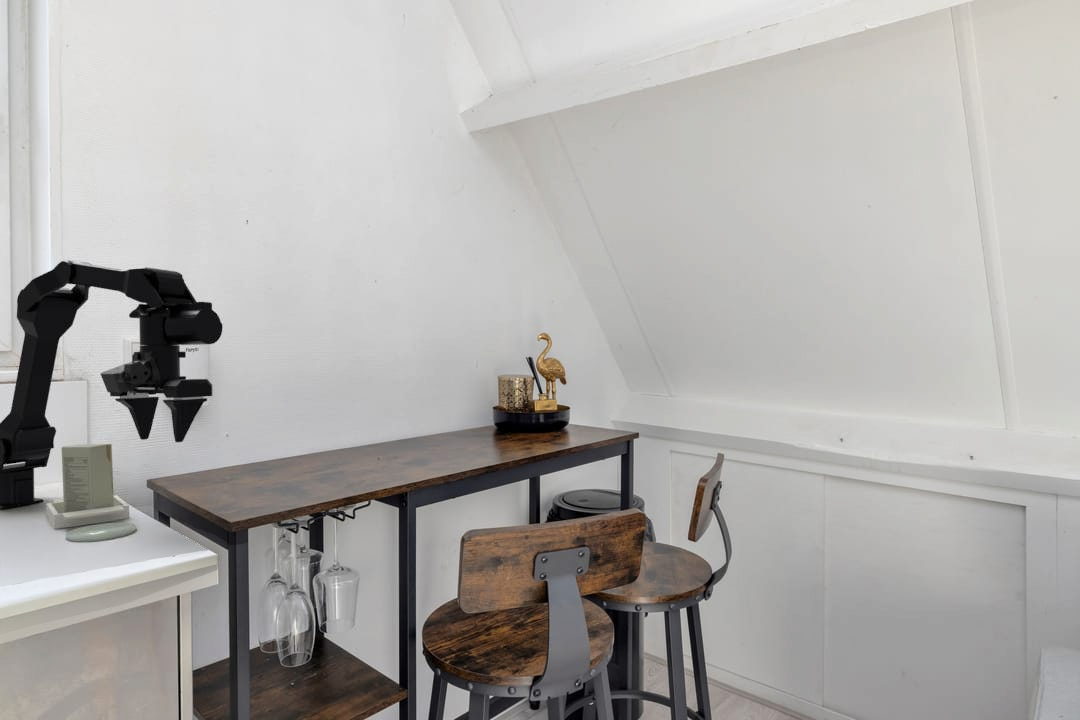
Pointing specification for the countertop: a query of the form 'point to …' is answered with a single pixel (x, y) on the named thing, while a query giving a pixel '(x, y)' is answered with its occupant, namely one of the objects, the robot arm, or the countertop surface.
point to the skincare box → (87, 477)
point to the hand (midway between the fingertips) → (161, 440)
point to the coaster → (100, 532)
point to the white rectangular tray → (85, 514)
